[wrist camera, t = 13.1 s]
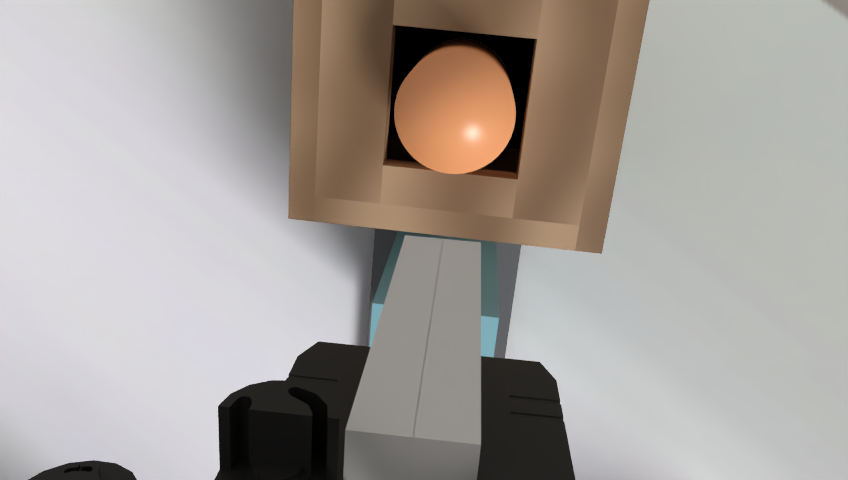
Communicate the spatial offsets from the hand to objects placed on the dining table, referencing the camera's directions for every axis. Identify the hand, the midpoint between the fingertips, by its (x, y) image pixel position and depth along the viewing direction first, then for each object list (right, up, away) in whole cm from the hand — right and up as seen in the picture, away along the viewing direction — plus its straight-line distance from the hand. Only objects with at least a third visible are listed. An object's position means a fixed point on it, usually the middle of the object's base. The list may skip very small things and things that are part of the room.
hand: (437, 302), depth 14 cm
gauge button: (+1, +7, +15) cm, 17 cm away
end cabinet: (+2, +10, +22) cm, 25 cm away
